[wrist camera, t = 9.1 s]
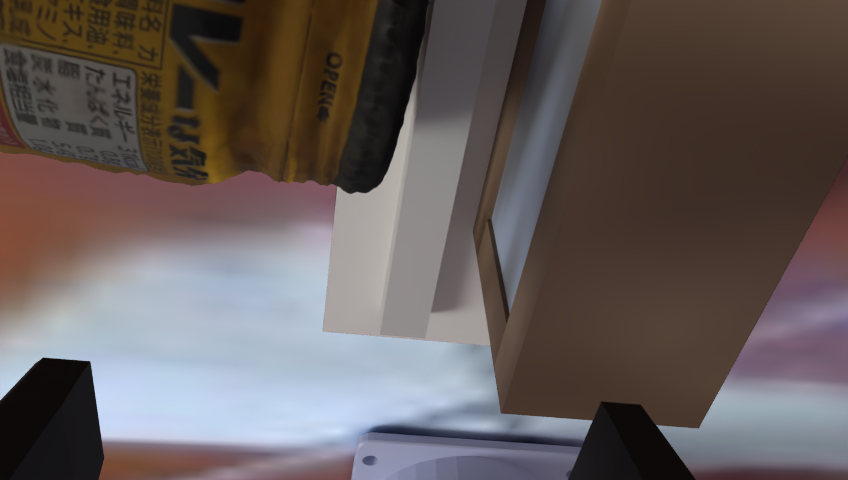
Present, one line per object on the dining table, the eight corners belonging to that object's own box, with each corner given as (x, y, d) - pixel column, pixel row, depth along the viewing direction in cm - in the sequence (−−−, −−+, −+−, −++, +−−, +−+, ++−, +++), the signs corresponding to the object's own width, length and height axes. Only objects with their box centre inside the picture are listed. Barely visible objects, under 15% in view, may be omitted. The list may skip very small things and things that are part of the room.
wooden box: (622, 246, 20) (698, 428, 15) (472, 230, 19) (500, 413, 15) (838, -315, 13) (1106, -315, 8) (612, -362, 12) (755, -392, 8)
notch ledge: (684, 339, 23) (706, 388, 22) (324, 307, 22) (319, 357, 20) (1136, -596, 12) (1256, -642, 10) (437, -784, 10) (446, -869, 9)
